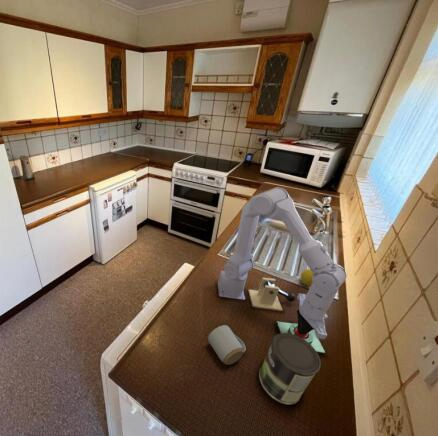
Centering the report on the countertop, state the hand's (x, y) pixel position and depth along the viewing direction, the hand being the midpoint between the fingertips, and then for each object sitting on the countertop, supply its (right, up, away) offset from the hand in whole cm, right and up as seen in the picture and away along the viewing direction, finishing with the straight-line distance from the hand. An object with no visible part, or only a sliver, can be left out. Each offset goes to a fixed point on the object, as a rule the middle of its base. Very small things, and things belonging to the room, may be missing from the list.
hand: (301, 332), depth 74 cm
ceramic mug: (-24, -5, -2) cm, 25 cm away
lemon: (+16, +8, +22) cm, 29 cm away
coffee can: (-12, -9, -10) cm, 18 cm away
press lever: (-1, +8, +12) cm, 14 cm away
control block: (0, -3, +2) cm, 3 cm away
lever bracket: (-5, +5, +15) cm, 16 cm away
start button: (0, -2, +1) cm, 2 cm away
